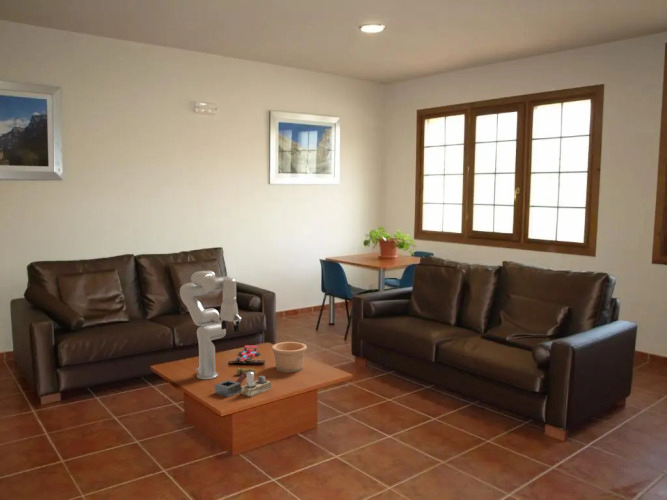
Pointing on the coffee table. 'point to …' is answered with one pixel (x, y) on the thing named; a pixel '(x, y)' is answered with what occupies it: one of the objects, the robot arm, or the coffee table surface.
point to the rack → (256, 387)
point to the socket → (227, 388)
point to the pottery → (289, 356)
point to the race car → (248, 353)
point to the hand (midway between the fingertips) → (230, 330)
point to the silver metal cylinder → (250, 379)
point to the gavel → (243, 373)
